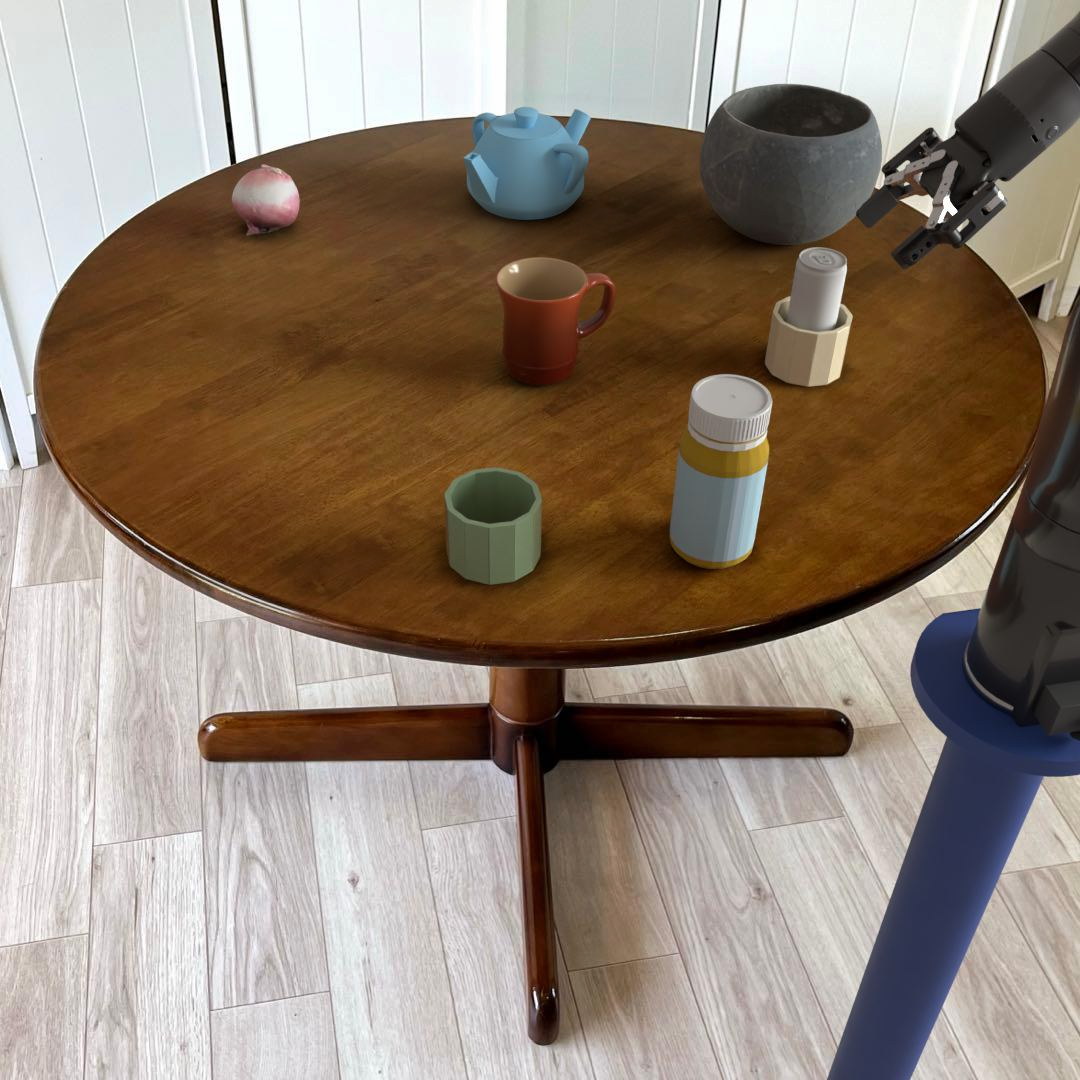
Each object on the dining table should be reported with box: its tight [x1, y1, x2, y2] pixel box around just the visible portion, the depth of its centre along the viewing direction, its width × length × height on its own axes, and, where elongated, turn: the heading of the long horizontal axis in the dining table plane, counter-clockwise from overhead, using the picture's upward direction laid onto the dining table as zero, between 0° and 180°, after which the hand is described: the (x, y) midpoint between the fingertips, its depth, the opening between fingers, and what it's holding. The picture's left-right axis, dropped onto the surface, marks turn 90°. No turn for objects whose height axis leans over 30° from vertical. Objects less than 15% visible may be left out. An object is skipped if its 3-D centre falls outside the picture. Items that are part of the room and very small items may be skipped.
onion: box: [231, 163, 301, 237], centre depth 144 cm, size 8×8×7 cm
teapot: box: [462, 106, 592, 221], centre depth 150 cm, size 15×17×11 cm
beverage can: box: [786, 246, 848, 332], centre depth 121 cm, size 5×5×12 cm
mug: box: [495, 256, 616, 387], centre depth 121 cm, size 12×9×10 cm
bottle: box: [669, 373, 773, 570], centre depth 99 cm, size 7×7×15 cm
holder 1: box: [443, 466, 543, 586], centre depth 100 cm, size 8×8×6 cm
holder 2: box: [764, 295, 854, 388], centre depth 123 cm, size 8×8×6 cm
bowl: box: [699, 83, 883, 246], centre depth 143 cm, size 20×20×15 cm
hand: (878, 241), depth 118 cm, fingers open, 8 cm apart
